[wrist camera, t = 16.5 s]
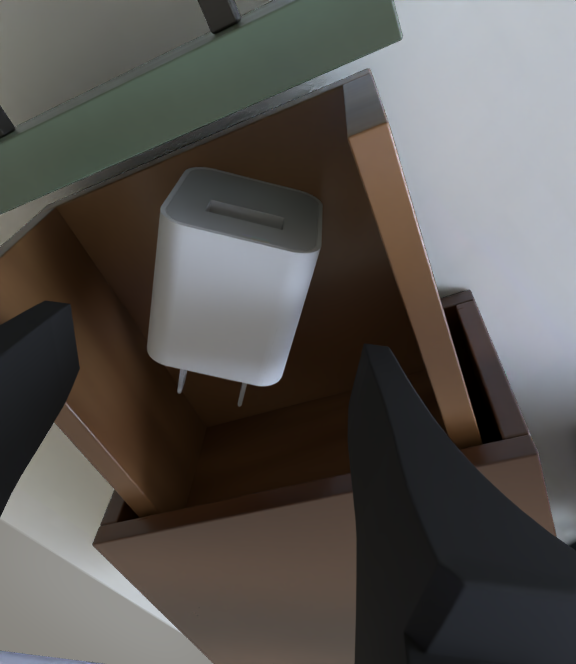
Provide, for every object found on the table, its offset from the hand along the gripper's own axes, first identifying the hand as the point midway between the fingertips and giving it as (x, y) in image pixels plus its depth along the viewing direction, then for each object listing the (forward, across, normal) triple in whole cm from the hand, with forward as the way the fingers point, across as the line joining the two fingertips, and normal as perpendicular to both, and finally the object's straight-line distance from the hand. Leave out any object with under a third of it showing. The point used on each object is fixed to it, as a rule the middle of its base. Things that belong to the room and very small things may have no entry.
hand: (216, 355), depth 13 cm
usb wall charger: (+5, 0, +1) cm, 5 cm away
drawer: (+6, +1, -2) cm, 6 cm away
